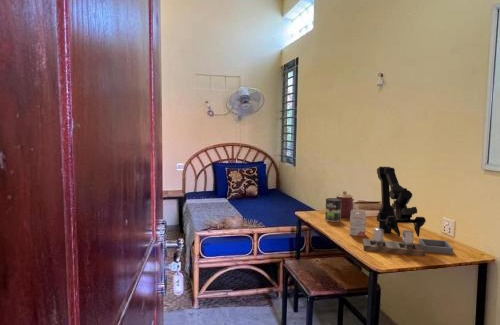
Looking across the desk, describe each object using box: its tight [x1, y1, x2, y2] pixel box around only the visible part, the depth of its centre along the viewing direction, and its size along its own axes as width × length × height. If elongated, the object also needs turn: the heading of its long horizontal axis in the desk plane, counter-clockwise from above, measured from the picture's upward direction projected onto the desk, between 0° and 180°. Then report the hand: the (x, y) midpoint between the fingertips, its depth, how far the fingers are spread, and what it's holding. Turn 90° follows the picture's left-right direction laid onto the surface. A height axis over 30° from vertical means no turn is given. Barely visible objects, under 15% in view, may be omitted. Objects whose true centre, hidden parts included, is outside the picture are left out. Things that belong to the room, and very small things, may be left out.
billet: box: [372, 227, 385, 246], centre depth 181 cm, size 5×5×10 cm
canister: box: [335, 190, 355, 218], centre depth 251 cm, size 13×13×18 cm
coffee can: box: [324, 197, 342, 223], centre depth 237 cm, size 10×10×14 cm
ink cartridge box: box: [349, 209, 367, 237], centre depth 204 cm, size 9×5×15 cm, turn 70°
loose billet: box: [401, 229, 414, 249], centre depth 177 cm, size 5×5×10 cm
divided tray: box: [362, 238, 426, 257], centre depth 179 cm, size 28×12×2 cm, turn 75°
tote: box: [418, 237, 454, 255], centre depth 181 cm, size 13×13×3 cm
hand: (409, 236), depth 175 cm, fingers open, 9 cm apart
